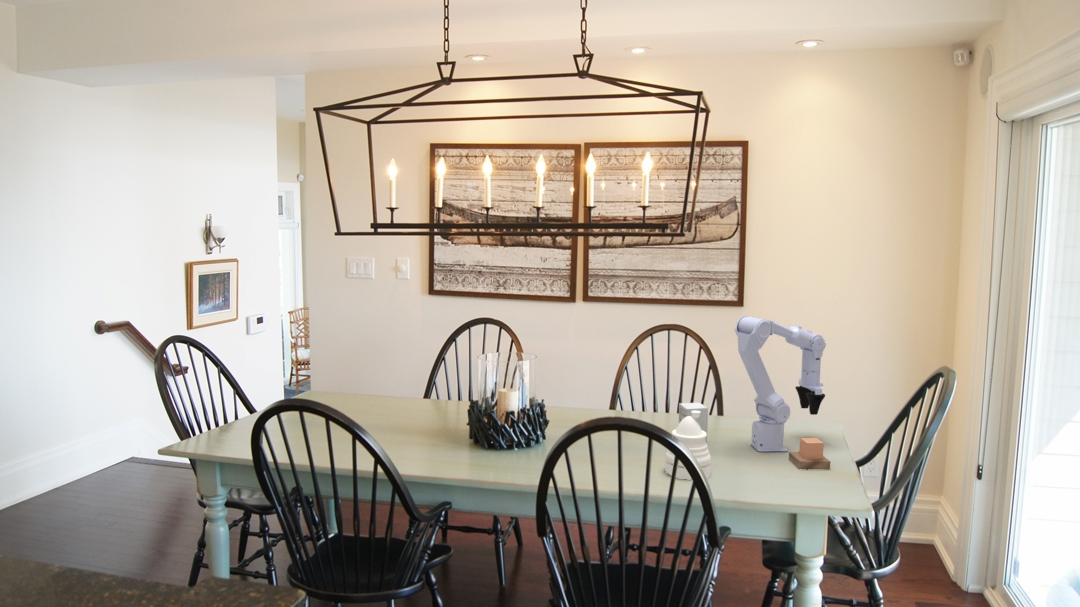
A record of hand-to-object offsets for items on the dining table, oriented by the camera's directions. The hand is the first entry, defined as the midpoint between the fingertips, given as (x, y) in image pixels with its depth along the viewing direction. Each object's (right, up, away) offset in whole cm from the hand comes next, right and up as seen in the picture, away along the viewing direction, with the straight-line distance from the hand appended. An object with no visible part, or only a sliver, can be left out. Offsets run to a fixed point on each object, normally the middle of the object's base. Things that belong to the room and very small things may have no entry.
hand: (809, 411), depth 249 cm
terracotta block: (-7, -11, -21) cm, 25 cm away
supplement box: (-38, -11, 0) cm, 40 cm away
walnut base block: (-7, -14, -21) cm, 26 cm away
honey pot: (-45, -14, -28) cm, 55 cm away
